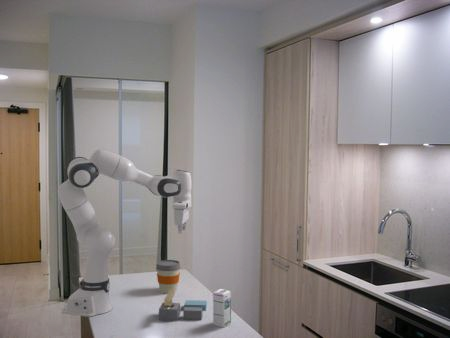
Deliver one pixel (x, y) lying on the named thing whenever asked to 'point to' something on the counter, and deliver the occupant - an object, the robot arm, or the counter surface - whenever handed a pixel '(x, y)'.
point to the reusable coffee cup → (168, 275)
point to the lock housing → (174, 312)
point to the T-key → (169, 298)
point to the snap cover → (196, 304)
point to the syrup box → (222, 307)
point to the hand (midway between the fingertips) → (182, 231)
